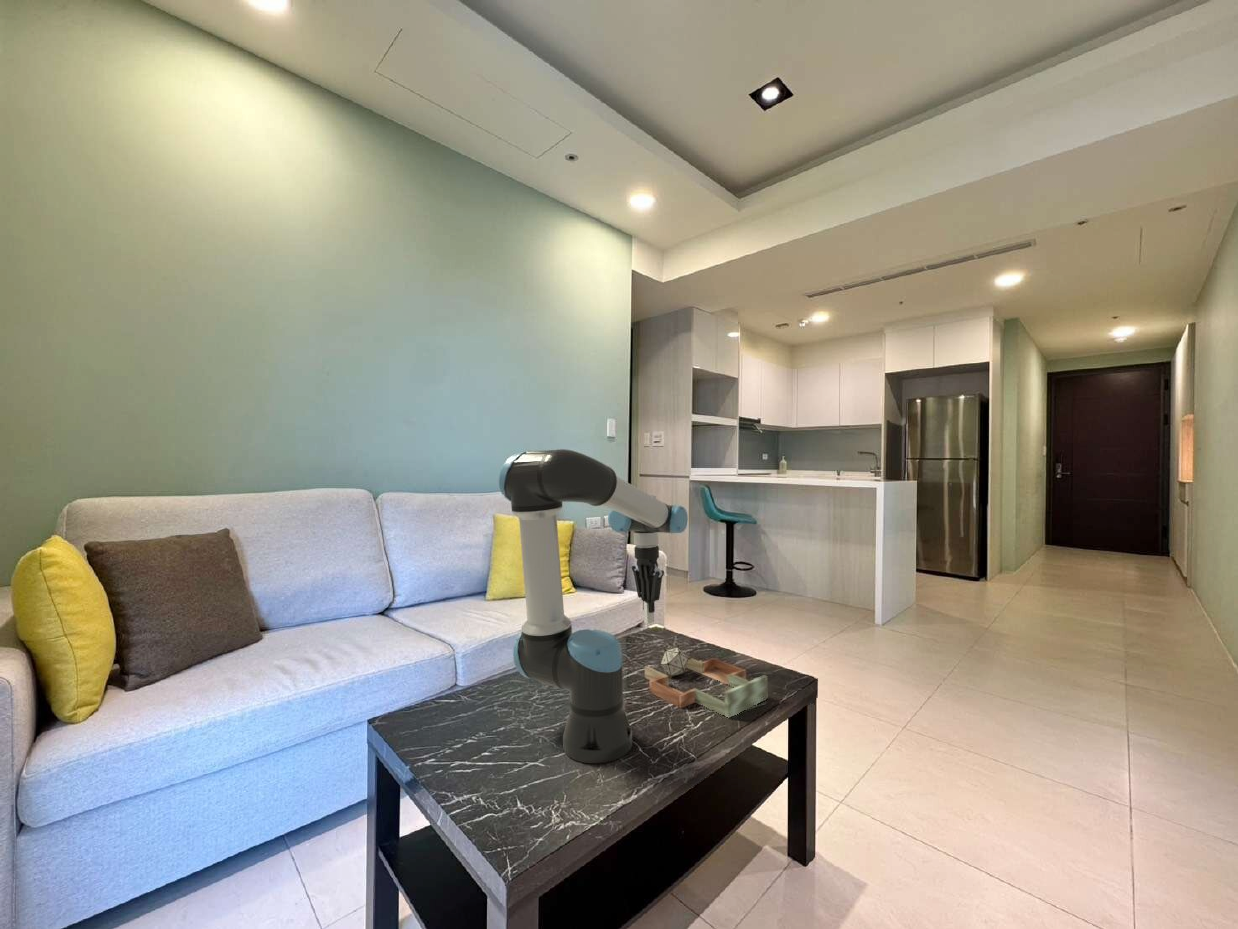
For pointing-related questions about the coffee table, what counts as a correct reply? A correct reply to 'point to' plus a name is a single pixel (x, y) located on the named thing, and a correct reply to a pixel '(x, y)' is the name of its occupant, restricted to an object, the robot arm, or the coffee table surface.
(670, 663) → the game die
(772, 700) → the coffee table surface
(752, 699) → the trap box
